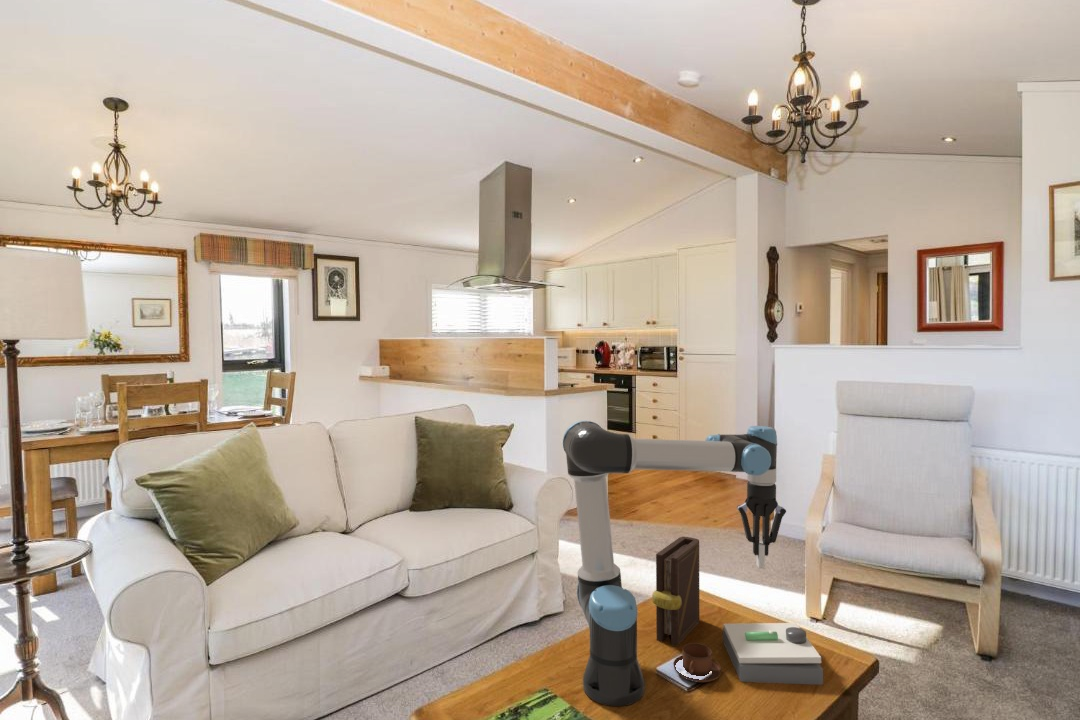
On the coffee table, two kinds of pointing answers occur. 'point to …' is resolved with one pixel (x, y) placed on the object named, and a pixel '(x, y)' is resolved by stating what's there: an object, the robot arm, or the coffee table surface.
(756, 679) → the level base
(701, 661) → the cup and saucer
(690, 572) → the book
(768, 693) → the coffee table surface
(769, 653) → the level plate
